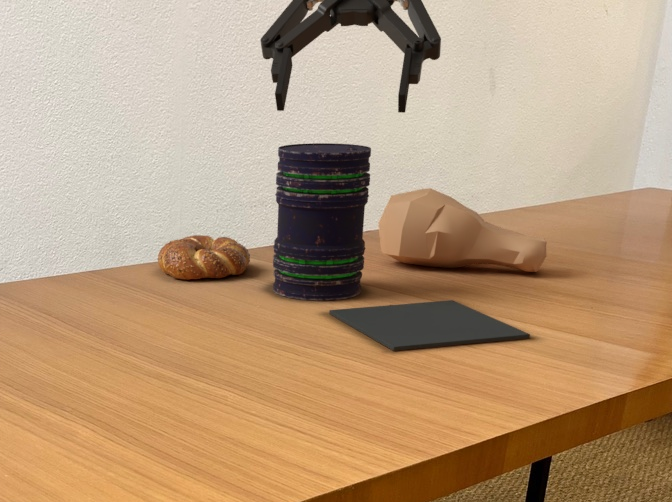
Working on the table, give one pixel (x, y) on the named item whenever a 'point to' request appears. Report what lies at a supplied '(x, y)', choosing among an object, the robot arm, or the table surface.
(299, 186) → the dark purple barrel
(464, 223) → the squash
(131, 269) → the table surface
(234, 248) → the braided bread ring
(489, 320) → the coaster
